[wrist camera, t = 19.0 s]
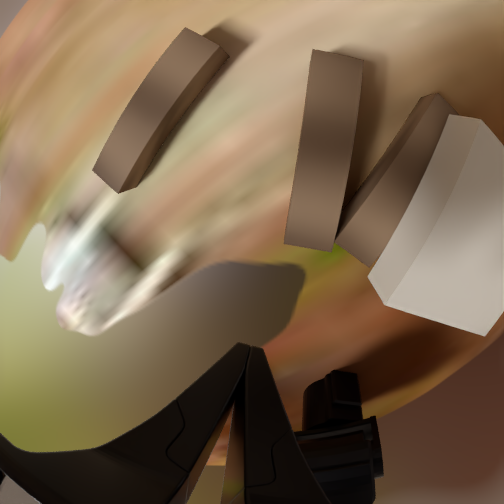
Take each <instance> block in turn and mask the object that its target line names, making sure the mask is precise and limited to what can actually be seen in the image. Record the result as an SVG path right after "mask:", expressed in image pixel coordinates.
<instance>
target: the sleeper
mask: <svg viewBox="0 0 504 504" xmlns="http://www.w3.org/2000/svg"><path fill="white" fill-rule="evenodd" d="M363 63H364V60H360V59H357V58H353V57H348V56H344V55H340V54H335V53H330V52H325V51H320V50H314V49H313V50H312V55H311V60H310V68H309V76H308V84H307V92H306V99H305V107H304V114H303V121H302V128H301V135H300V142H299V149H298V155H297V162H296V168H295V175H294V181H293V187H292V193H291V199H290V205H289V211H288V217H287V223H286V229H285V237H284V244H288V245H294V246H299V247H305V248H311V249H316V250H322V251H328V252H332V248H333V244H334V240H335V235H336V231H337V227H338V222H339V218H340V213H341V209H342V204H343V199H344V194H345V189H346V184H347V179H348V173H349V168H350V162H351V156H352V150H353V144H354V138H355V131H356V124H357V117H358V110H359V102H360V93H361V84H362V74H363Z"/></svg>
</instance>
